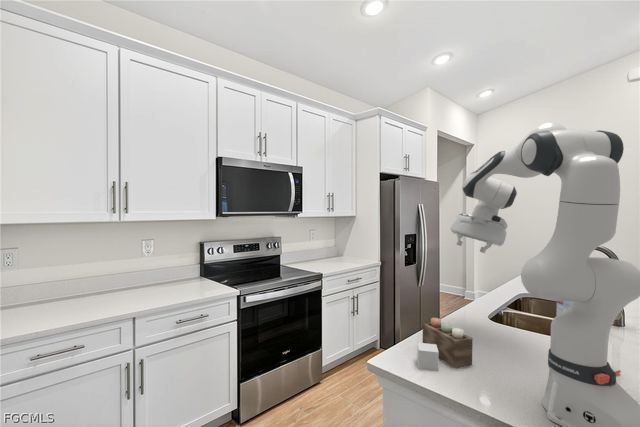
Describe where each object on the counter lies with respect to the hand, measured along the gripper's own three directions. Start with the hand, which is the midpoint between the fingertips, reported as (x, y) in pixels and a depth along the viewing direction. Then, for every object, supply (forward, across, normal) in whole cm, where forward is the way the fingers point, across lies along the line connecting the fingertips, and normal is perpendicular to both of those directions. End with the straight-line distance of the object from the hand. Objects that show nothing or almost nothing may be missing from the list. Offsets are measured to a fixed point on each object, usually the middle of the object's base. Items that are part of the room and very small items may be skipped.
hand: (470, 248), depth 126 cm
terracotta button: (+33, +3, -8) cm, 34 cm away
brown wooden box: (+41, +9, -6) cm, 42 cm away
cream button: (+33, +12, -12) cm, 37 cm away
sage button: (+33, +8, -10) cm, 35 cm away
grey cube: (+46, +9, -16) cm, 49 cm away
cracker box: (+22, +39, +18) cm, 49 cm away
